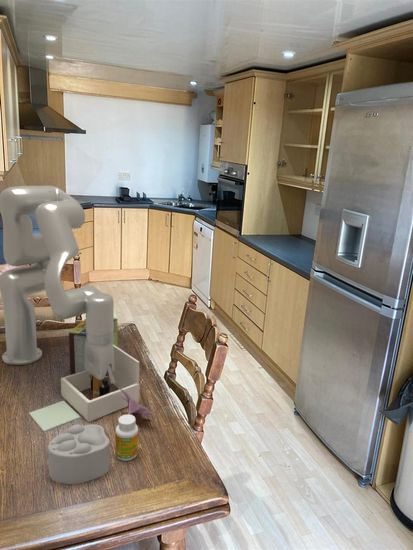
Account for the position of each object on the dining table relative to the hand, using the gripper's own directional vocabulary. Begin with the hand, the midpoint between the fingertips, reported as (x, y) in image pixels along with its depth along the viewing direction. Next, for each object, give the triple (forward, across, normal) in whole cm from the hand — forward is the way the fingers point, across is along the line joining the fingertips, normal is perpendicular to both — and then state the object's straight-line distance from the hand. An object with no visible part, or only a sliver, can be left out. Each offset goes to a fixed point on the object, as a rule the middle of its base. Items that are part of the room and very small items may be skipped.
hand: (100, 393), depth 126 cm
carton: (+2, 0, 0) cm, 2 cm away
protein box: (+2, -18, +8) cm, 20 cm away
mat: (+2, 0, -14) cm, 14 cm away
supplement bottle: (+2, +25, -7) cm, 26 cm away
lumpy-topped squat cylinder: (+2, +22, -18) cm, 29 cm away
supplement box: (+2, 0, 0) cm, 2 cm away
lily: (+2, +15, +2) cm, 15 cm away
